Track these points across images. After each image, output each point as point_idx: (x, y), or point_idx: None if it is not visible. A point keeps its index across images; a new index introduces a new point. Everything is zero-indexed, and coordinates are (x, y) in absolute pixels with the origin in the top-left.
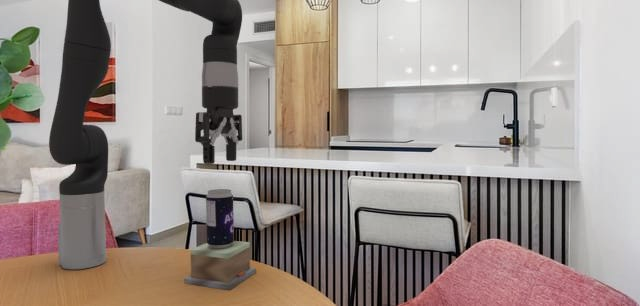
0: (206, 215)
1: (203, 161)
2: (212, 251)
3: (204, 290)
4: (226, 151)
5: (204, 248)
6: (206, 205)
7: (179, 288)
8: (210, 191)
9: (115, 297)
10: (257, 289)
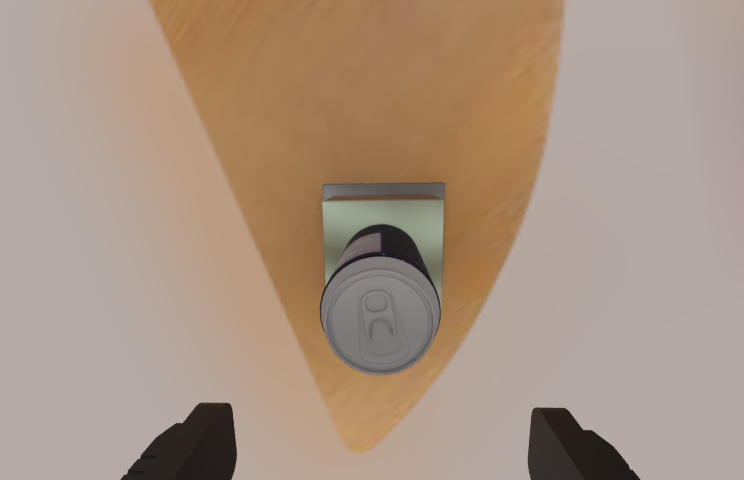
0: (346, 252)
1: (198, 405)
2: (329, 268)
3: (309, 249)
4: (575, 469)
5: (344, 232)
6: (338, 264)
7: (298, 193)
8: (366, 281)
9: (207, 98)
10: None
